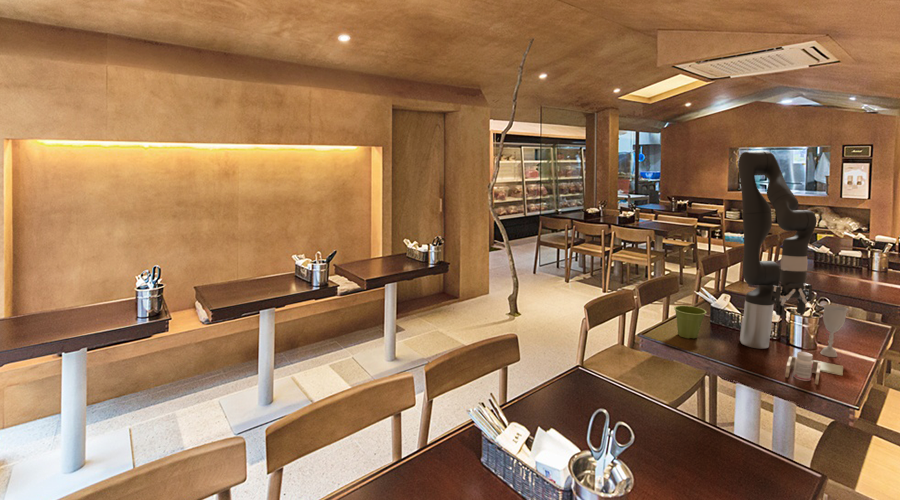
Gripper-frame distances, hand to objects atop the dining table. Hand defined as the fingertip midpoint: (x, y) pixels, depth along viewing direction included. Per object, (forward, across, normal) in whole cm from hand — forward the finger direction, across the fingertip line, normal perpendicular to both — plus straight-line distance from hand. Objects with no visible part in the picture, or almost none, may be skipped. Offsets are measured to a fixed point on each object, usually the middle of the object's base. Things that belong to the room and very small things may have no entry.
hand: (789, 314), depth 162 cm
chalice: (+18, -23, -4) cm, 29 cm away
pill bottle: (+19, +4, +10) cm, 22 cm away
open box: (+18, +2, +8) cm, 20 cm away
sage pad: (+18, -11, +6) cm, 22 cm away
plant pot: (+16, +15, -32) cm, 39 cm away
